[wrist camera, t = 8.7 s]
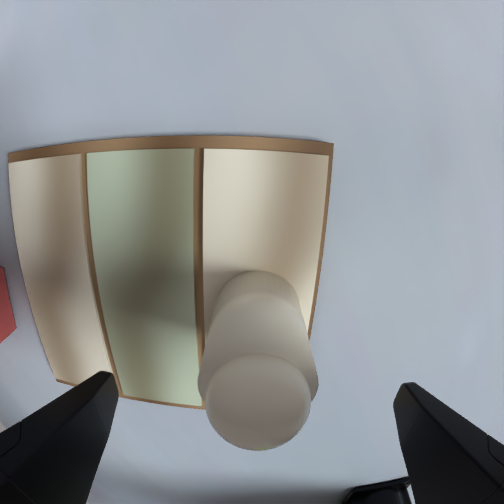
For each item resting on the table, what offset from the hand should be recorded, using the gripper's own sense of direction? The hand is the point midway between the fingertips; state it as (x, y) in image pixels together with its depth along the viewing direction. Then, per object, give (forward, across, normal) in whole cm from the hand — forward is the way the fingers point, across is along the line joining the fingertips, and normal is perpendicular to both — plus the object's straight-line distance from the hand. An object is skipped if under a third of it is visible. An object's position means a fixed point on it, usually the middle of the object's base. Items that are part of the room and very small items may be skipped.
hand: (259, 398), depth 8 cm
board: (+6, +5, 0) cm, 8 cm away
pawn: (+5, 0, 0) cm, 5 cm away
